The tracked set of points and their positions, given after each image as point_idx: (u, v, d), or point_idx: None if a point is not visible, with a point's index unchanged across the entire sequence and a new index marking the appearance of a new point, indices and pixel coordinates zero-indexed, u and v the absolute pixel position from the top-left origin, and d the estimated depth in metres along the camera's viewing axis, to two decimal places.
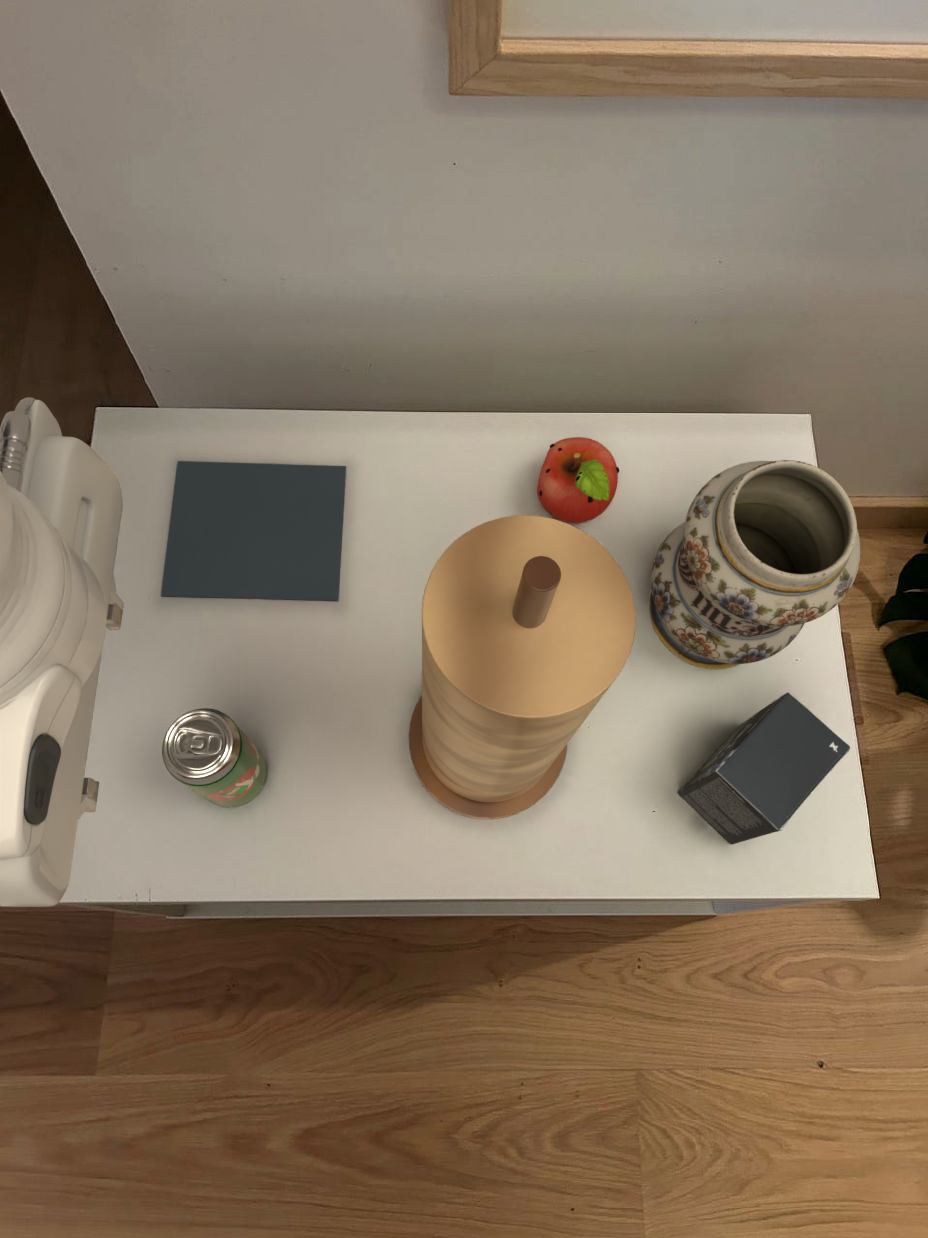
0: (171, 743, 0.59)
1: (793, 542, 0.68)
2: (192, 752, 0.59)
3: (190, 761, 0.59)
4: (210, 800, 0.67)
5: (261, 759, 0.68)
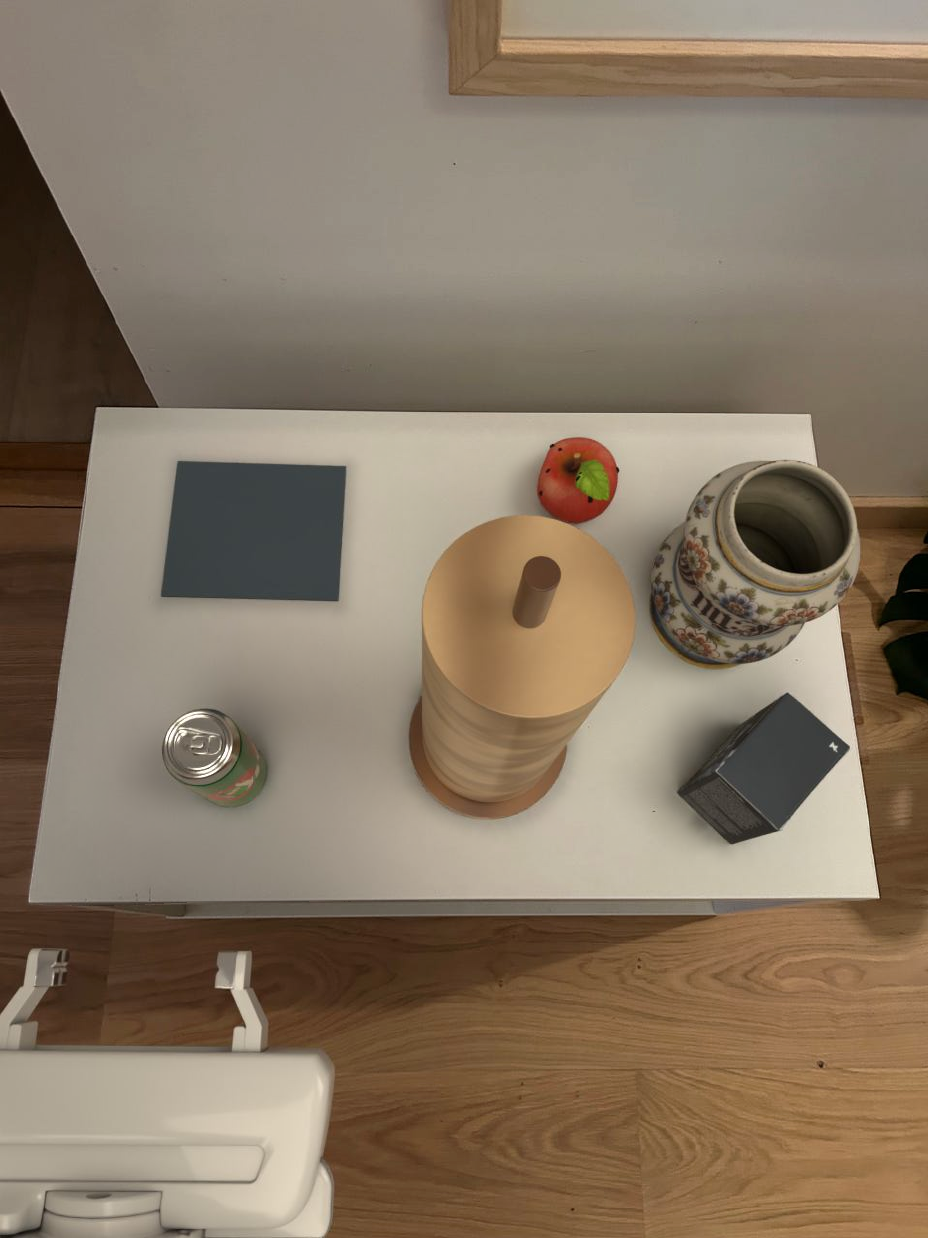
0: (171, 743, 0.59)
1: (793, 542, 0.68)
2: (192, 752, 0.59)
3: (190, 761, 0.59)
4: (210, 800, 0.67)
5: (261, 759, 0.68)
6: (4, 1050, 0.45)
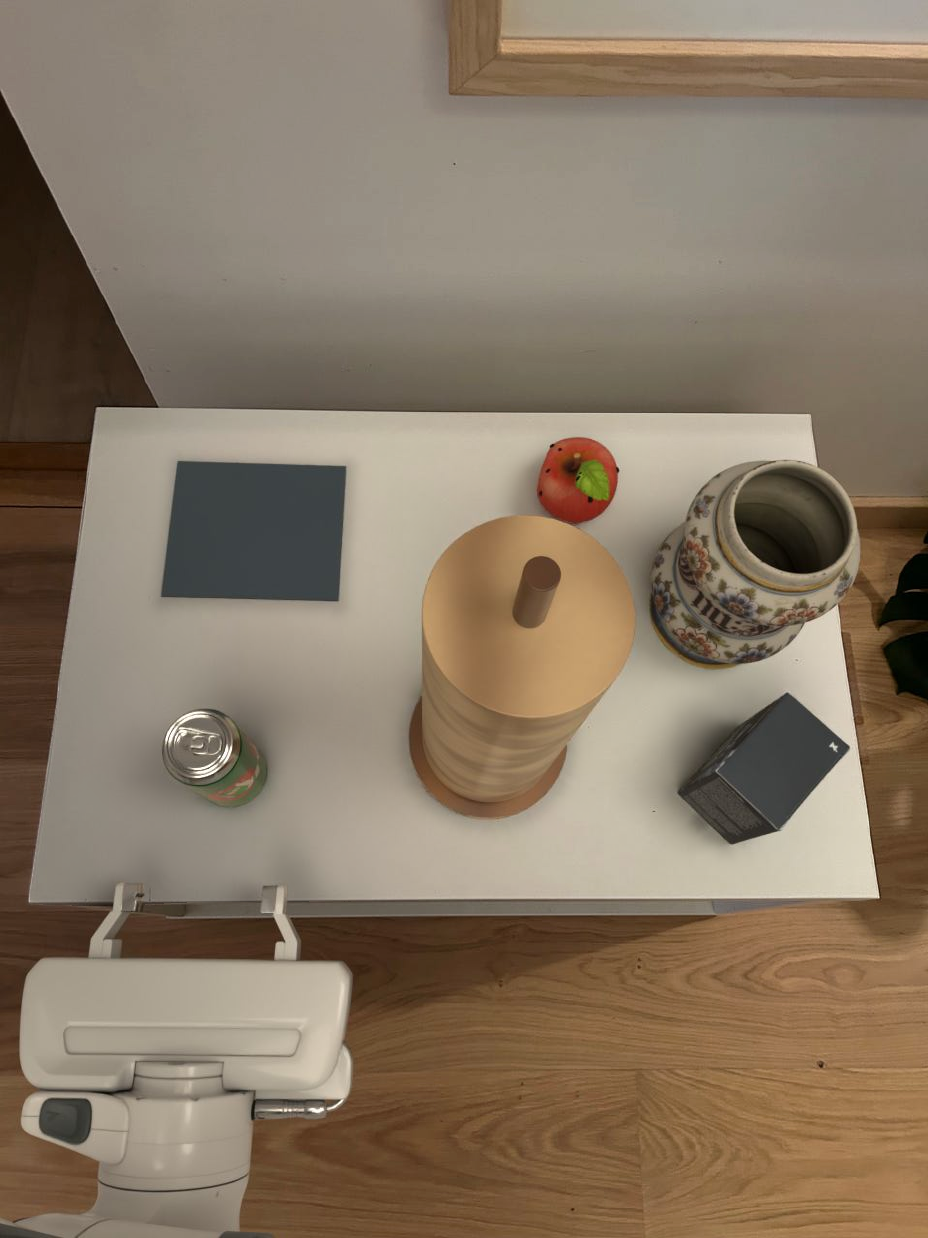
0: (171, 743, 0.59)
1: (793, 542, 0.68)
2: (192, 752, 0.59)
3: (190, 761, 0.59)
4: (210, 800, 0.67)
5: (261, 759, 0.68)
6: (100, 958, 0.59)
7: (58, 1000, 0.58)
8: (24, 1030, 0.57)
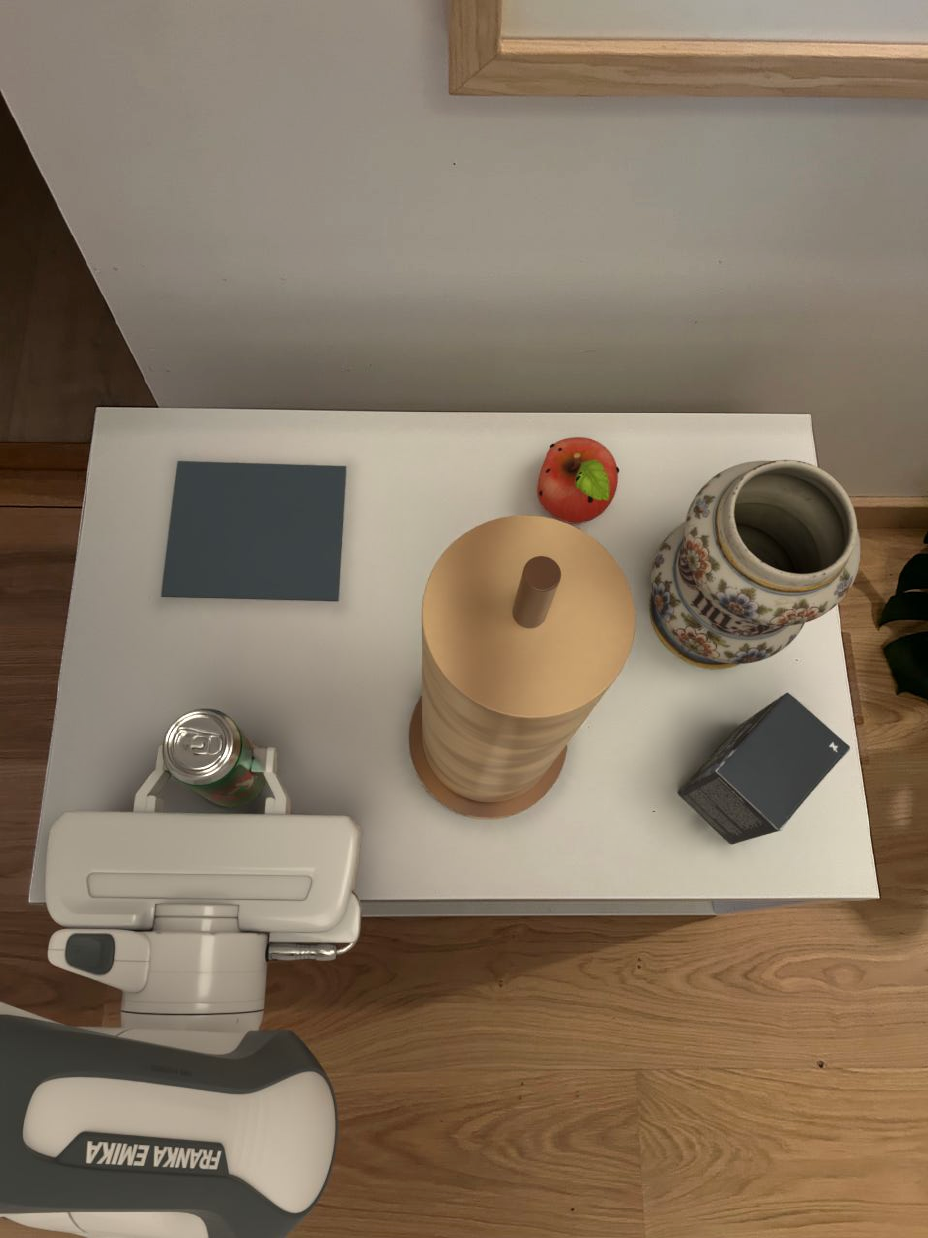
0: (171, 743, 0.59)
1: (793, 542, 0.68)
2: (192, 752, 0.59)
3: (190, 761, 0.59)
4: (210, 800, 0.67)
5: None
6: None
7: (81, 848, 0.61)
8: (49, 874, 0.60)
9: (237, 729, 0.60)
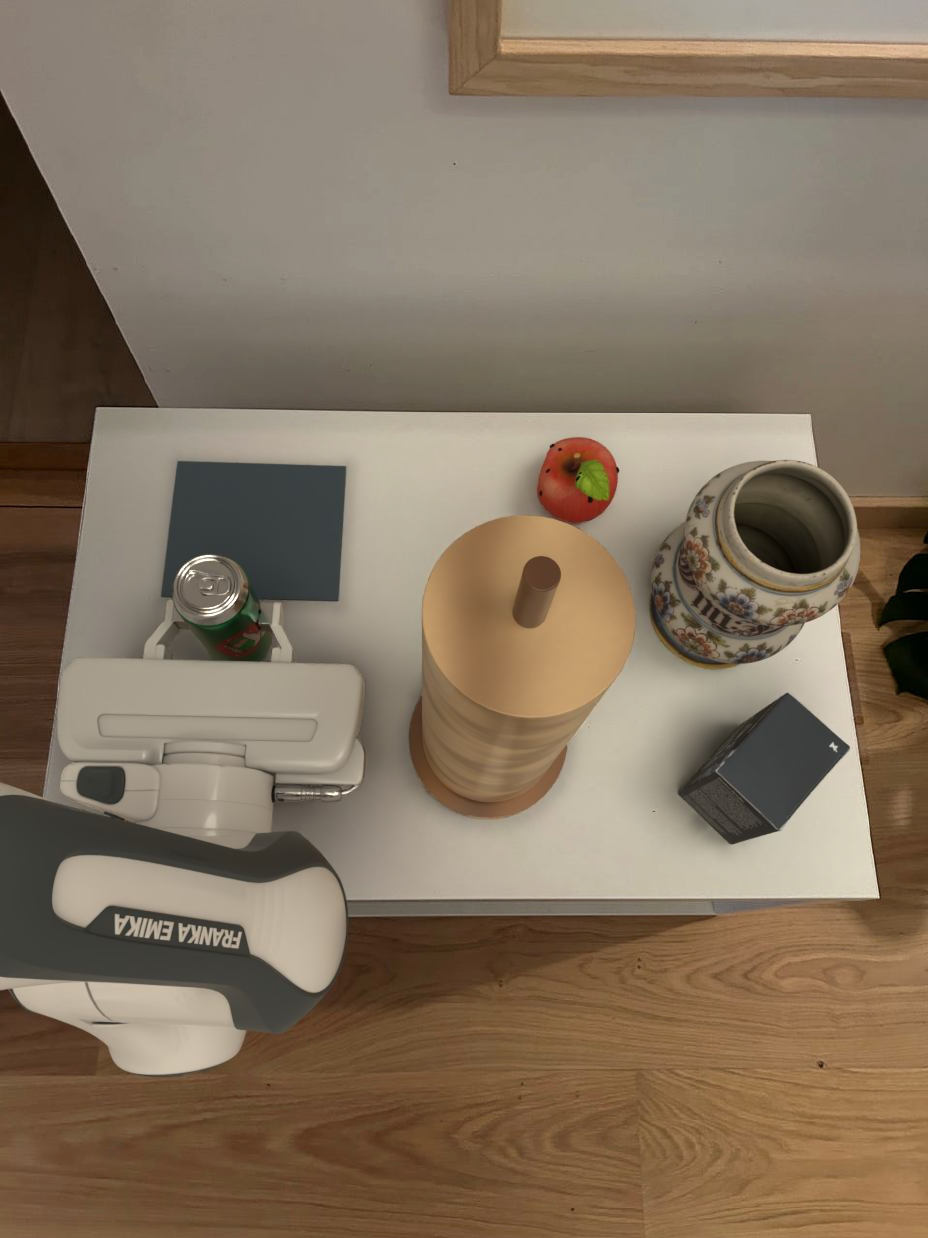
0: (181, 584, 0.61)
1: (793, 542, 0.68)
2: (201, 593, 0.61)
3: (199, 601, 0.60)
4: (217, 658, 0.68)
5: None
6: (130, 658, 0.64)
7: (92, 690, 0.62)
8: (61, 713, 0.61)
9: (245, 574, 0.62)
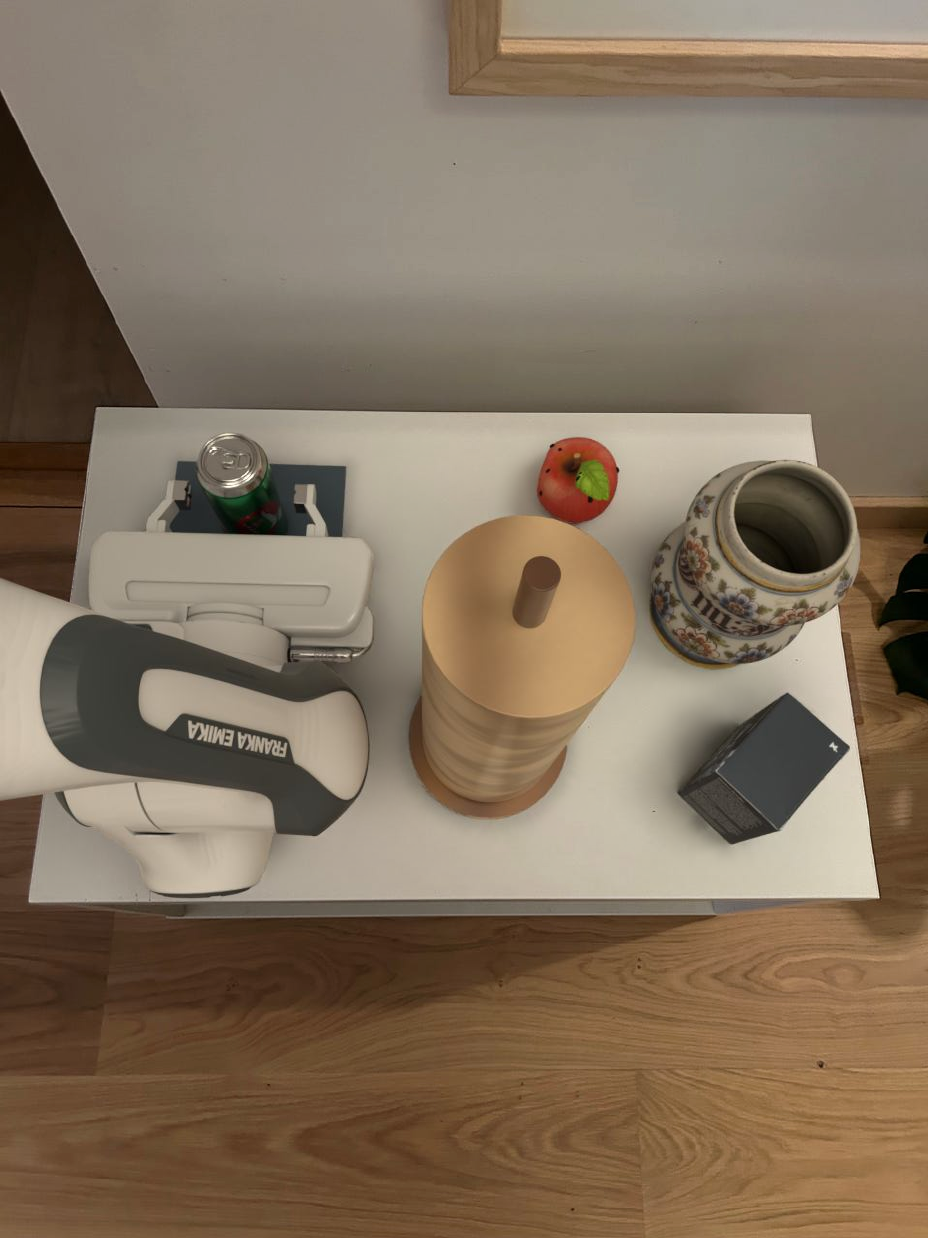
0: (204, 459, 0.65)
1: (793, 542, 0.68)
2: (223, 467, 0.65)
3: (222, 474, 0.65)
4: None
5: None
6: (155, 532, 0.68)
7: (120, 560, 0.67)
8: (92, 579, 0.66)
9: (263, 452, 0.67)
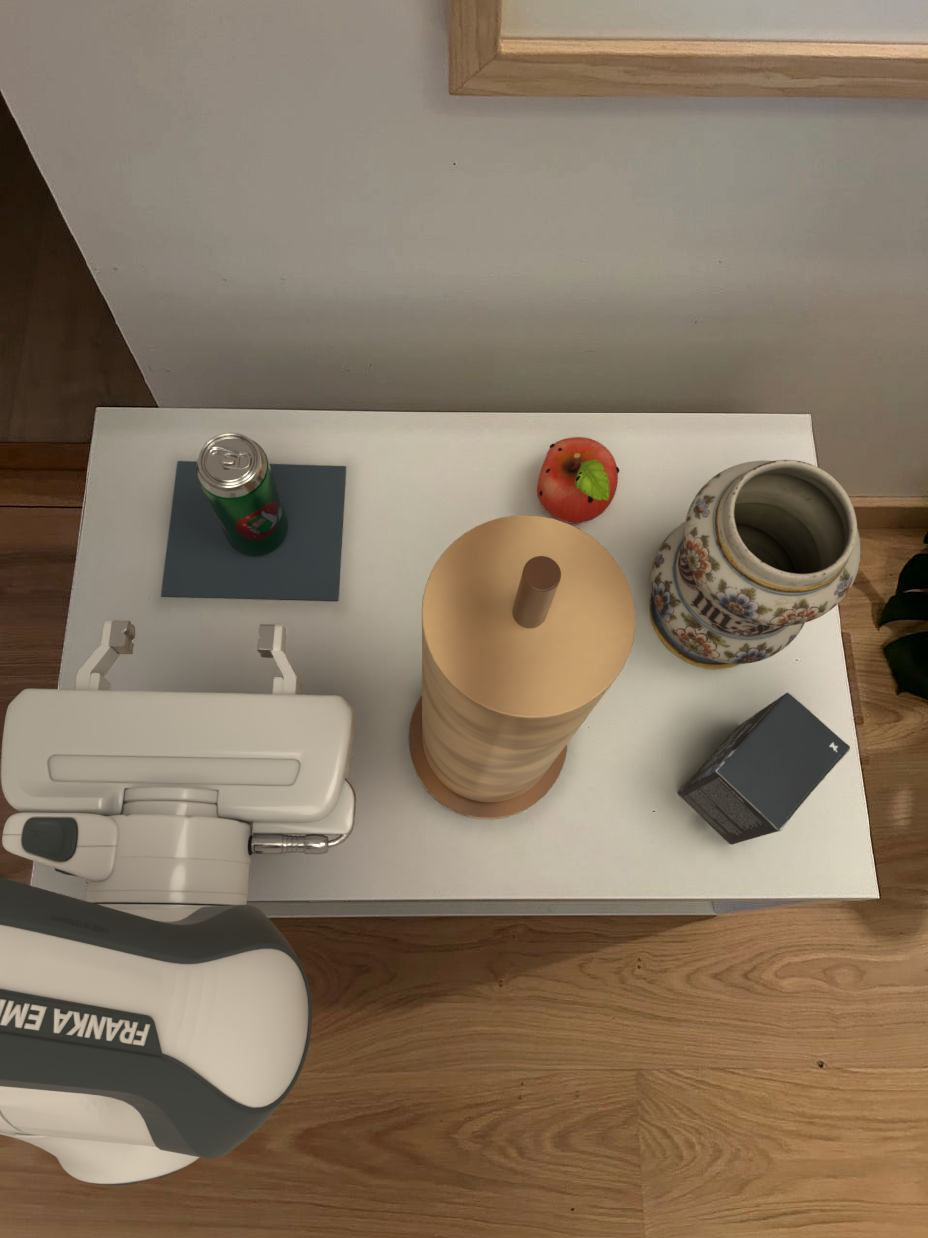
0: (205, 459, 0.65)
1: (793, 542, 0.68)
2: (223, 467, 0.65)
3: (222, 474, 0.65)
4: (236, 541, 0.73)
5: (283, 508, 0.74)
6: (87, 689, 0.56)
7: (42, 727, 0.54)
8: (6, 755, 0.53)
9: (264, 452, 0.67)
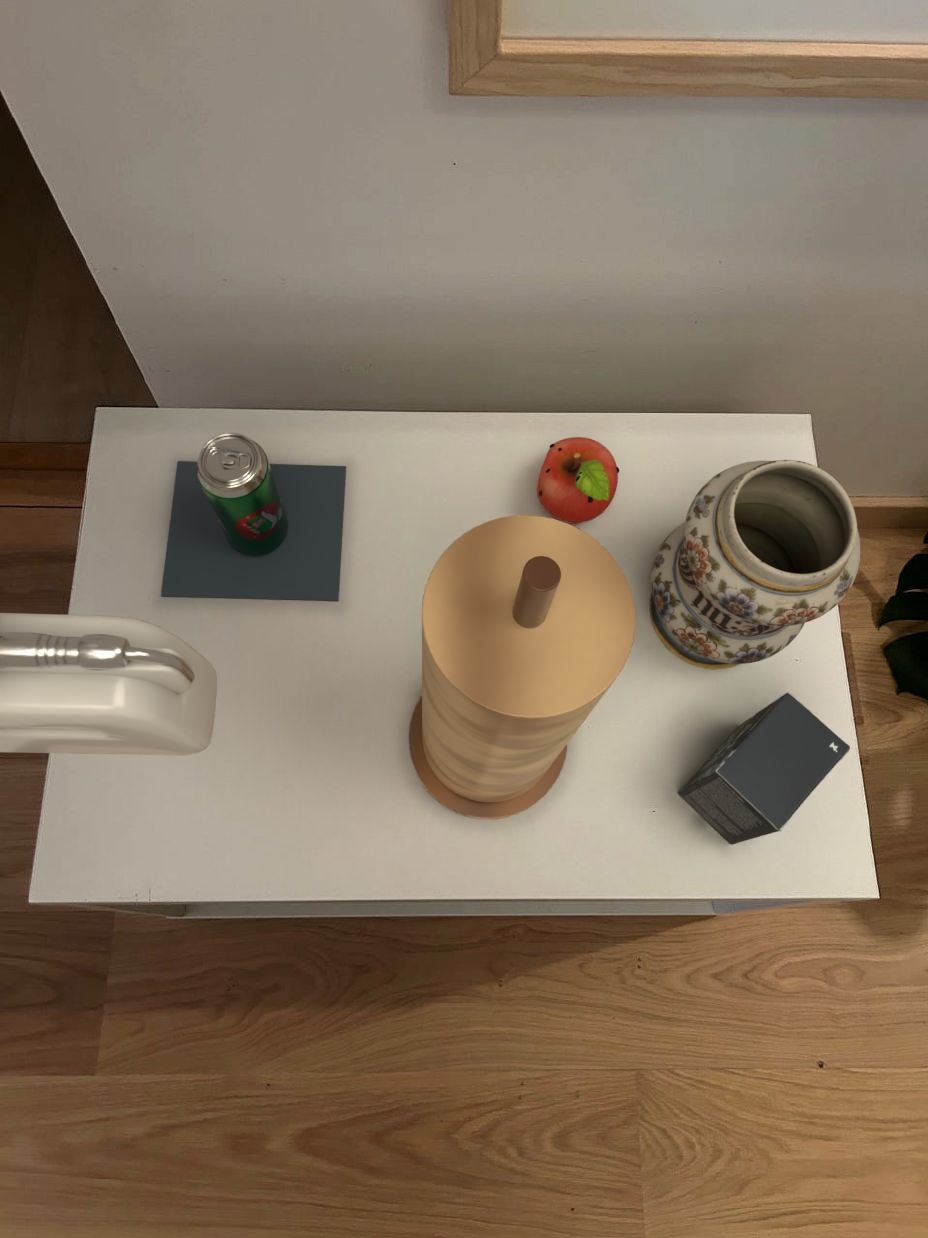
0: (205, 459, 0.65)
1: (793, 542, 0.68)
2: (223, 467, 0.65)
3: (222, 474, 0.65)
4: (236, 541, 0.73)
5: (283, 508, 0.74)
6: None
7: None
8: None
9: (264, 452, 0.67)
